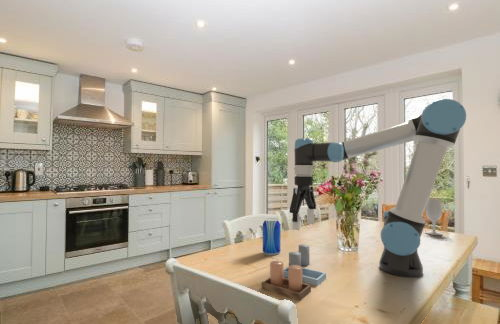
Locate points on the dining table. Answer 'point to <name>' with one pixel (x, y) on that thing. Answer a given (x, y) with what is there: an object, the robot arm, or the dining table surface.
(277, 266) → the cylinder
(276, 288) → the trough
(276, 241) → the beer can
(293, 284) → the cylinder
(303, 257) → the cylinder
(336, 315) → the dining table surface
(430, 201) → the wineglass
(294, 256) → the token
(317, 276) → the trough
